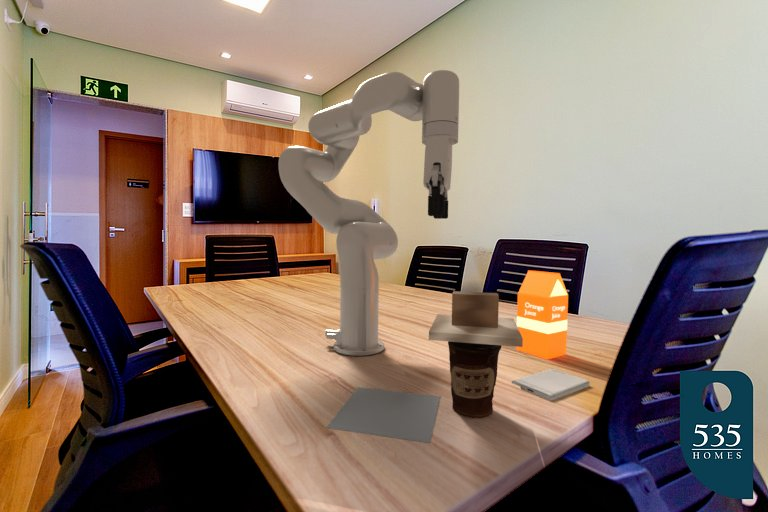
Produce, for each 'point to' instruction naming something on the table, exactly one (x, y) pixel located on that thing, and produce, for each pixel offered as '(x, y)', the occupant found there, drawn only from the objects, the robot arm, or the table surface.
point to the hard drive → (551, 384)
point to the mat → (388, 414)
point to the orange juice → (543, 314)
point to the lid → (475, 322)
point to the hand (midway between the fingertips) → (438, 217)
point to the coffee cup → (473, 378)
